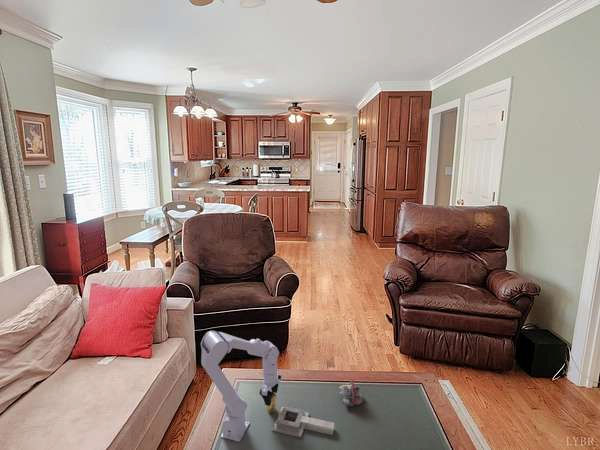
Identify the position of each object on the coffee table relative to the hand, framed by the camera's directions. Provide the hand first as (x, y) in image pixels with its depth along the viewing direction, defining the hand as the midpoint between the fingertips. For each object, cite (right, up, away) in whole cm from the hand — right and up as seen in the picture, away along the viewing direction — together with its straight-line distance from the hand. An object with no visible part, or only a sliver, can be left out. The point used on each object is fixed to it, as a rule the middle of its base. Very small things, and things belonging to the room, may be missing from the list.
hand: (271, 398), depth 147 cm
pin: (0, -6, +1) cm, 6 cm away
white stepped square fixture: (+14, -8, -7) cm, 17 cm away
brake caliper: (+35, -4, +7) cm, 35 cm away
